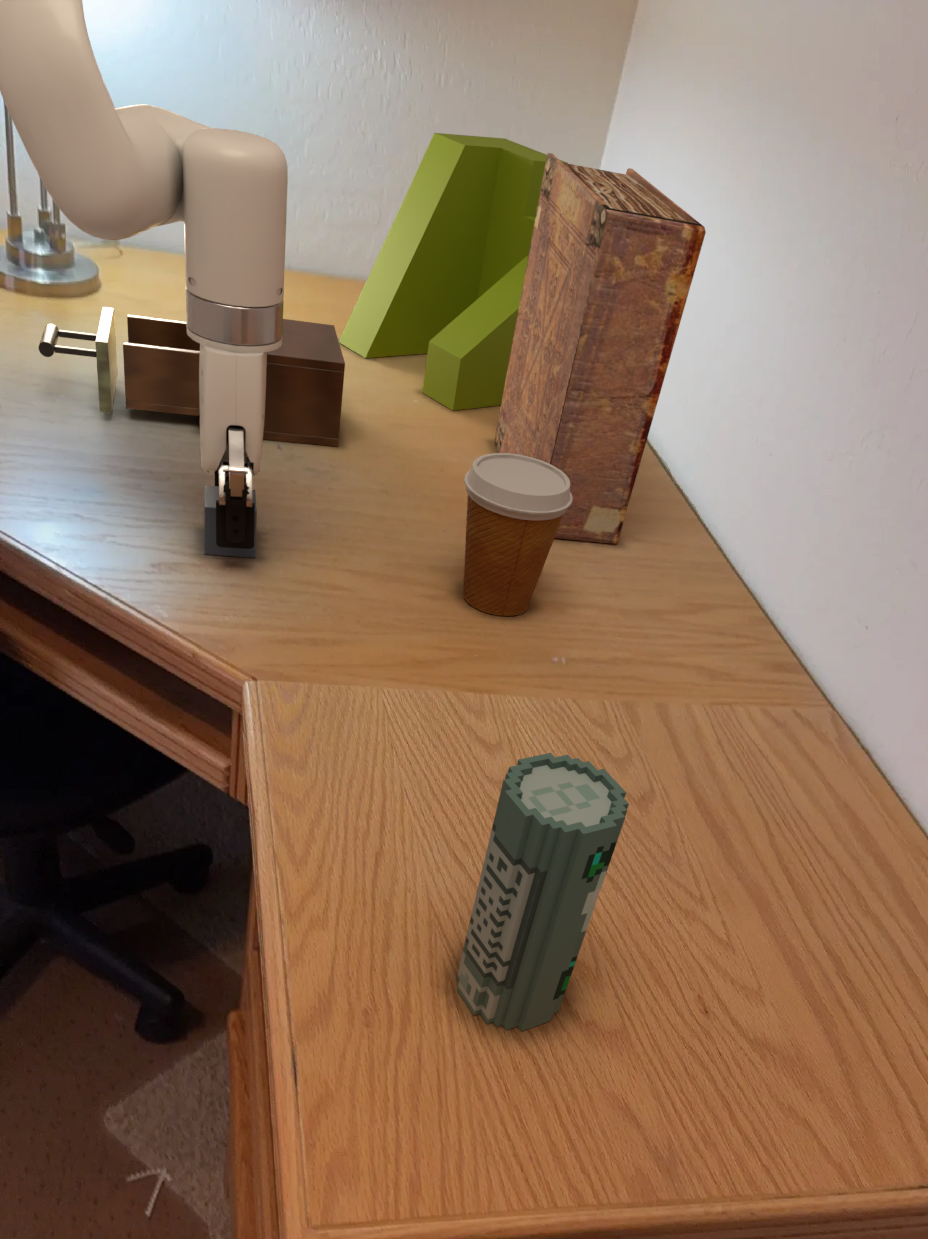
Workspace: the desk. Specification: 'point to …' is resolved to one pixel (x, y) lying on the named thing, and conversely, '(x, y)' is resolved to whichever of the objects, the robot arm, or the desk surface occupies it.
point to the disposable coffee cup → (510, 529)
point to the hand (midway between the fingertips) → (233, 521)
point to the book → (596, 335)
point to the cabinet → (304, 385)
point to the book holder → (454, 268)
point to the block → (210, 527)
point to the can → (538, 887)
